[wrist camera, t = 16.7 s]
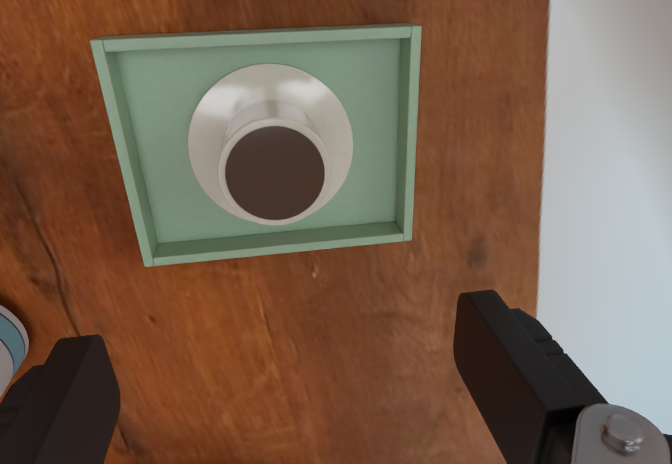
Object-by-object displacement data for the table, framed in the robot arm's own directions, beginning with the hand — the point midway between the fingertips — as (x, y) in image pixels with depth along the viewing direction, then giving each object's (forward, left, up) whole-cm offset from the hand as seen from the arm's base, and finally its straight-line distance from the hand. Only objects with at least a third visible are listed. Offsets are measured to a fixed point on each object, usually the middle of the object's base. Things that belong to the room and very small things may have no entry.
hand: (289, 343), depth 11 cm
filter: (0, +1, -21) cm, 21 cm away
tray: (0, +1, -21) cm, 21 cm away
